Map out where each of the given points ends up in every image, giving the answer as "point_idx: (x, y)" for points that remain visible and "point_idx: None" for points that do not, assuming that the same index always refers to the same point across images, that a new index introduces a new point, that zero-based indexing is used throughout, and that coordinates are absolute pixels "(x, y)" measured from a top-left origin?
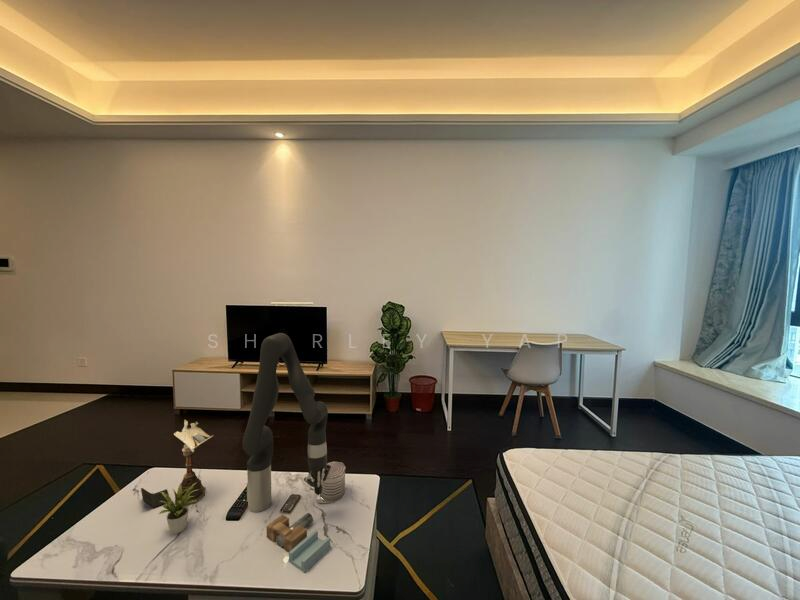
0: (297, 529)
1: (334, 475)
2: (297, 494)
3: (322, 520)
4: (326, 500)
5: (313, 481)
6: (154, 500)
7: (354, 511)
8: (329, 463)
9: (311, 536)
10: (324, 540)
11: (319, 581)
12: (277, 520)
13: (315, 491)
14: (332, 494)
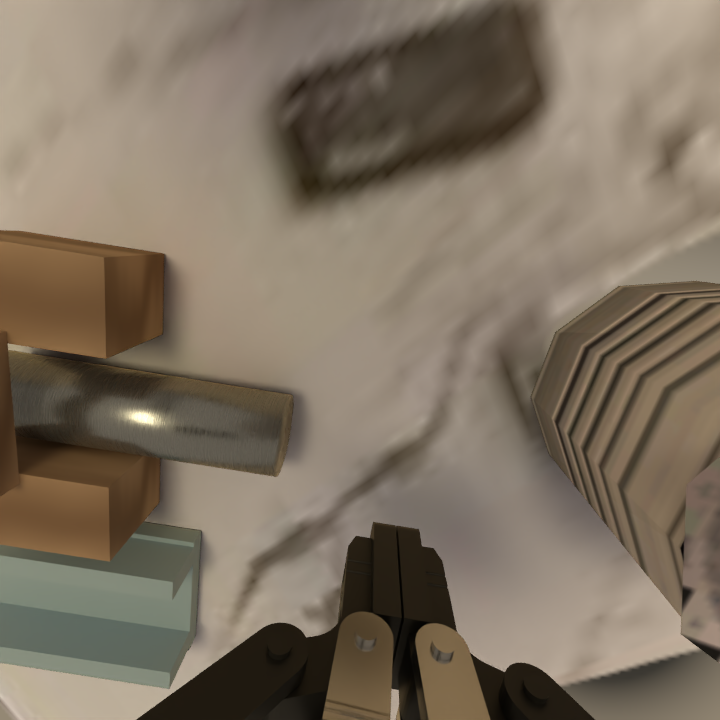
0: (64, 504)
1: None
2: (544, 66)
3: (347, 486)
4: (538, 407)
5: (326, 698)
6: None
7: (507, 619)
8: None
9: (113, 591)
10: (136, 671)
11: (25, 680)
12: (25, 276)
13: (350, 568)
14: (577, 481)
